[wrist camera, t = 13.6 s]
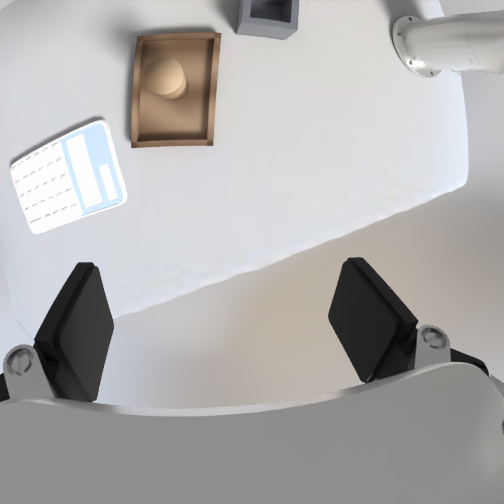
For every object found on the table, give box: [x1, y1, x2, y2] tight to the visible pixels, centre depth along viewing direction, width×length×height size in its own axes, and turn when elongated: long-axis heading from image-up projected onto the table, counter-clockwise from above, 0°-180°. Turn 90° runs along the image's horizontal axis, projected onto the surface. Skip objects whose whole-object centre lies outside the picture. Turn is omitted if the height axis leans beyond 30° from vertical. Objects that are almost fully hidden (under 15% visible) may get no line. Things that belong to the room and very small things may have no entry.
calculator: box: [10, 119, 127, 234], centre depth 32 cm, size 13×20×2 cm, turn 99°
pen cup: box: [236, 0, 299, 40], centre depth 24 cm, size 7×7×6 cm
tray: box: [131, 33, 221, 148], centre depth 29 cm, size 16×11×2 cm
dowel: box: [144, 57, 189, 101], centre depth 25 cm, size 4×4×12 cm
